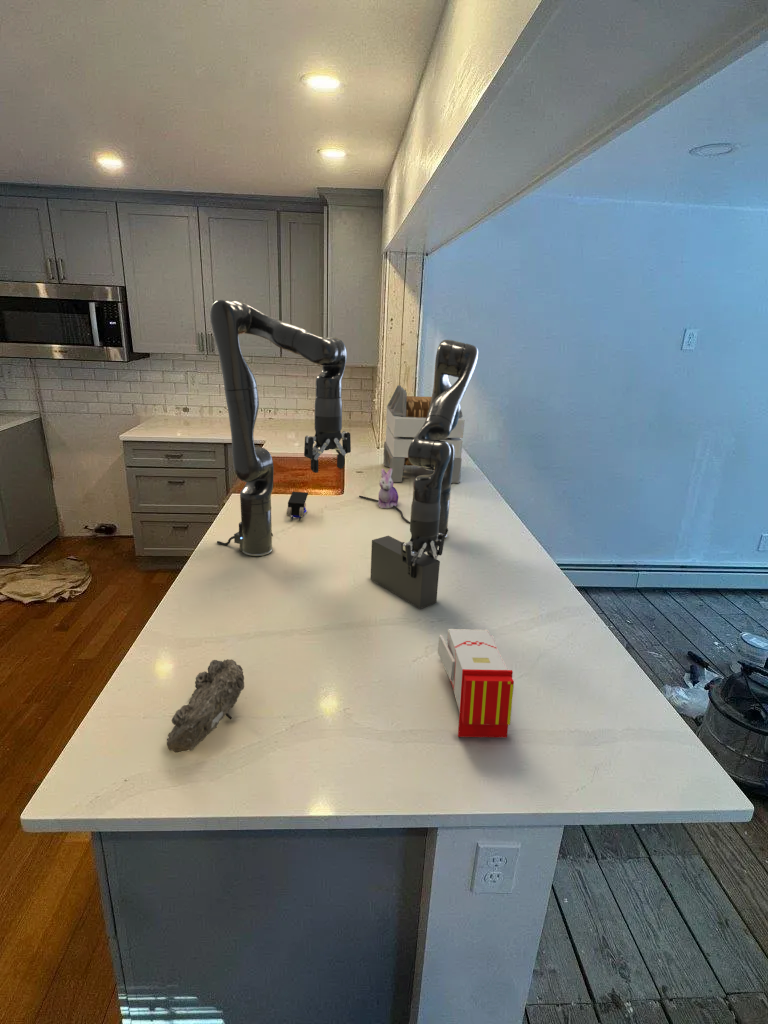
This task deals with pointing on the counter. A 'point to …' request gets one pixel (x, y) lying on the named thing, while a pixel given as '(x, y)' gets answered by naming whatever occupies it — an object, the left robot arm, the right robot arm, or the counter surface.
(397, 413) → the transformer
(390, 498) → the figurine
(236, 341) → the left robot arm
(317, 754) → the counter surface
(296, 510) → the figurine character
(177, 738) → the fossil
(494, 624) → the counter surface
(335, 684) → the counter surface
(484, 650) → the toy
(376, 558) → the box
